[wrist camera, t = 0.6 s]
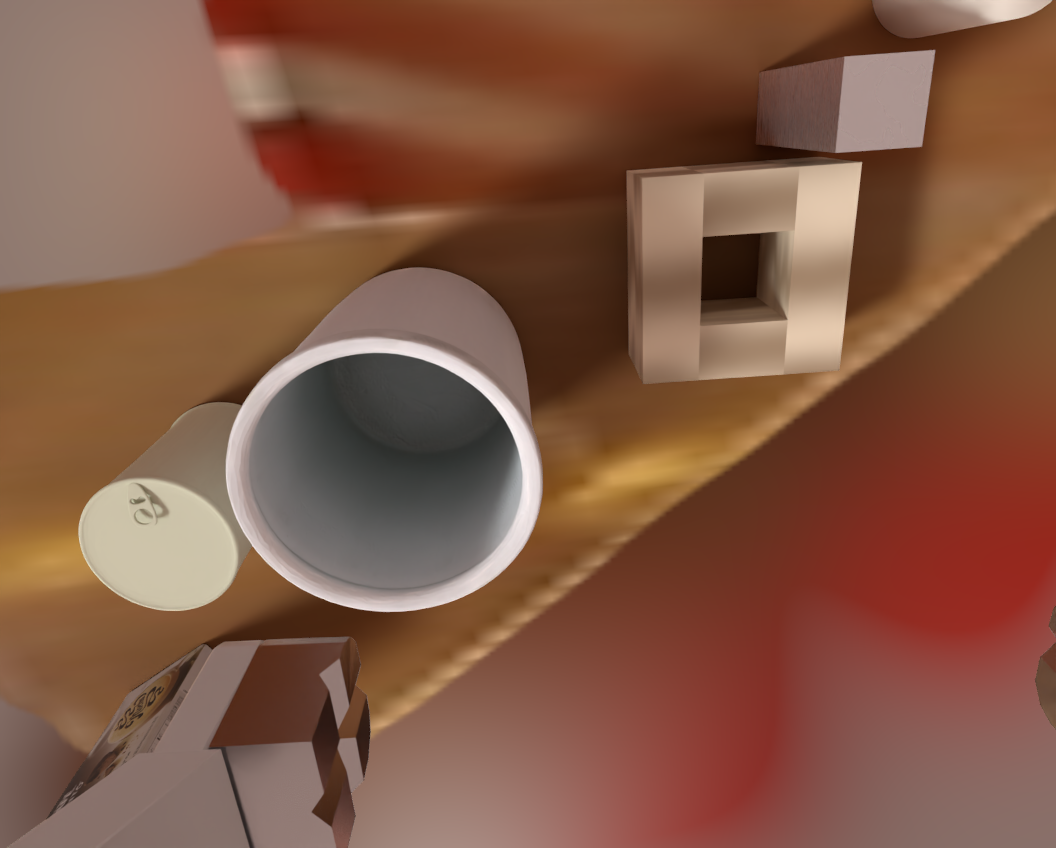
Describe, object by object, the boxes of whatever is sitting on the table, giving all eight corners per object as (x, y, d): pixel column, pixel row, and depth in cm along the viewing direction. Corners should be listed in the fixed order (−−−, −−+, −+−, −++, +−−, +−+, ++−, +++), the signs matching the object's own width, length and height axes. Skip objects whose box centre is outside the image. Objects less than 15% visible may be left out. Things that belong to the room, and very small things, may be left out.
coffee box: (183, 737, 63) (80, 929, 48) (127, 691, 61) (1, 878, 46) (260, 689, 61) (178, 874, 46) (204, 639, 59) (99, 817, 44)
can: (273, 391, 50) (205, 469, 39) (310, 505, 54) (257, 605, 43) (146, 412, 51) (44, 494, 40) (191, 523, 54) (109, 627, 43)
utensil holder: (564, 421, 52) (587, 560, 35) (377, 491, 53) (318, 652, 37) (483, 225, 46) (466, 283, 30) (278, 310, 48) (159, 408, 32)
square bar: (759, 72, 43) (844, 56, 32) (826, 67, 43) (935, 49, 32) (755, 143, 44) (835, 152, 33) (820, 139, 44) (921, 146, 33)
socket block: (626, 170, 45) (642, 177, 39) (819, 156, 45) (862, 162, 39) (628, 354, 50) (643, 383, 44) (803, 342, 49) (839, 370, 44)
